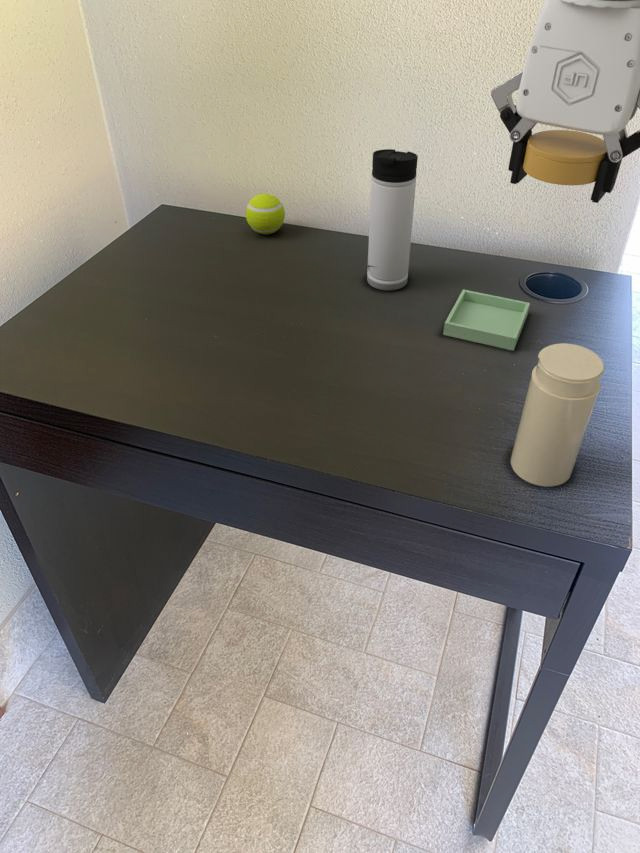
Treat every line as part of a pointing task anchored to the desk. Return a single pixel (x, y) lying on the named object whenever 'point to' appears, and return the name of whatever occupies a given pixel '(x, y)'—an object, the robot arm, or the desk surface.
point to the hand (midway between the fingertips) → (557, 187)
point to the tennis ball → (265, 213)
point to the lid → (564, 157)
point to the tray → (487, 319)
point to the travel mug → (391, 218)
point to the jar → (556, 413)
